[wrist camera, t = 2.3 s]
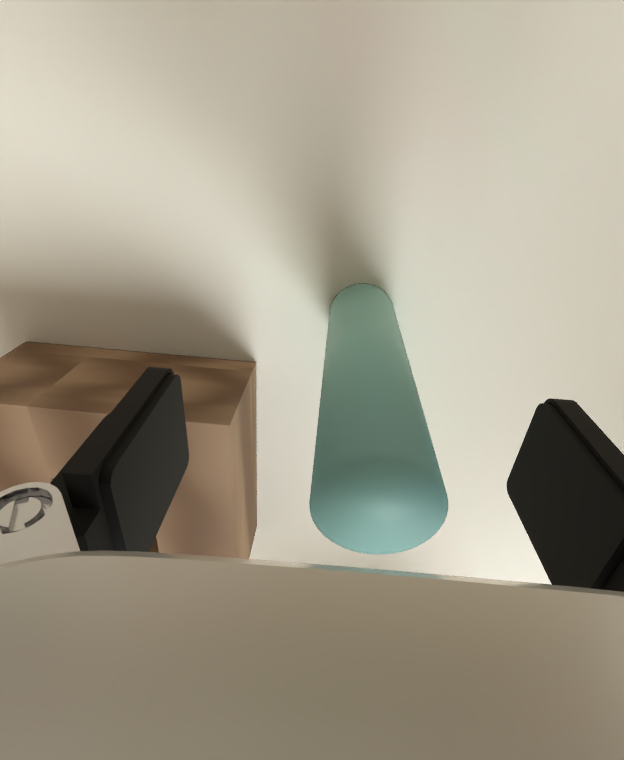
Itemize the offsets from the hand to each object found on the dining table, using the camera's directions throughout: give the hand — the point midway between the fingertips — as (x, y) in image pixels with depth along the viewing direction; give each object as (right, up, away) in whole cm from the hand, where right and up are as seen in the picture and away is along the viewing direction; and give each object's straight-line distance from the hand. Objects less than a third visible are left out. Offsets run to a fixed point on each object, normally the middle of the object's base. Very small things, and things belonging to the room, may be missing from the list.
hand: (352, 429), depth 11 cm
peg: (+1, +4, +8) cm, 10 cm away
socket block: (-10, -2, +13) cm, 17 cm away
